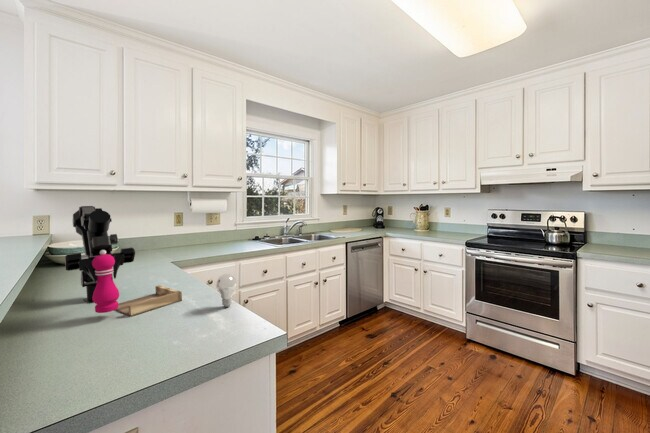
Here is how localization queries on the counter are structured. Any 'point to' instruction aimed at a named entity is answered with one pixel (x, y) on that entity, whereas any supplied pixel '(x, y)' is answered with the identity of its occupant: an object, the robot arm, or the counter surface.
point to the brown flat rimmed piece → (150, 301)
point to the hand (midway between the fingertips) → (105, 279)
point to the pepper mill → (104, 284)
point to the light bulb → (226, 288)
